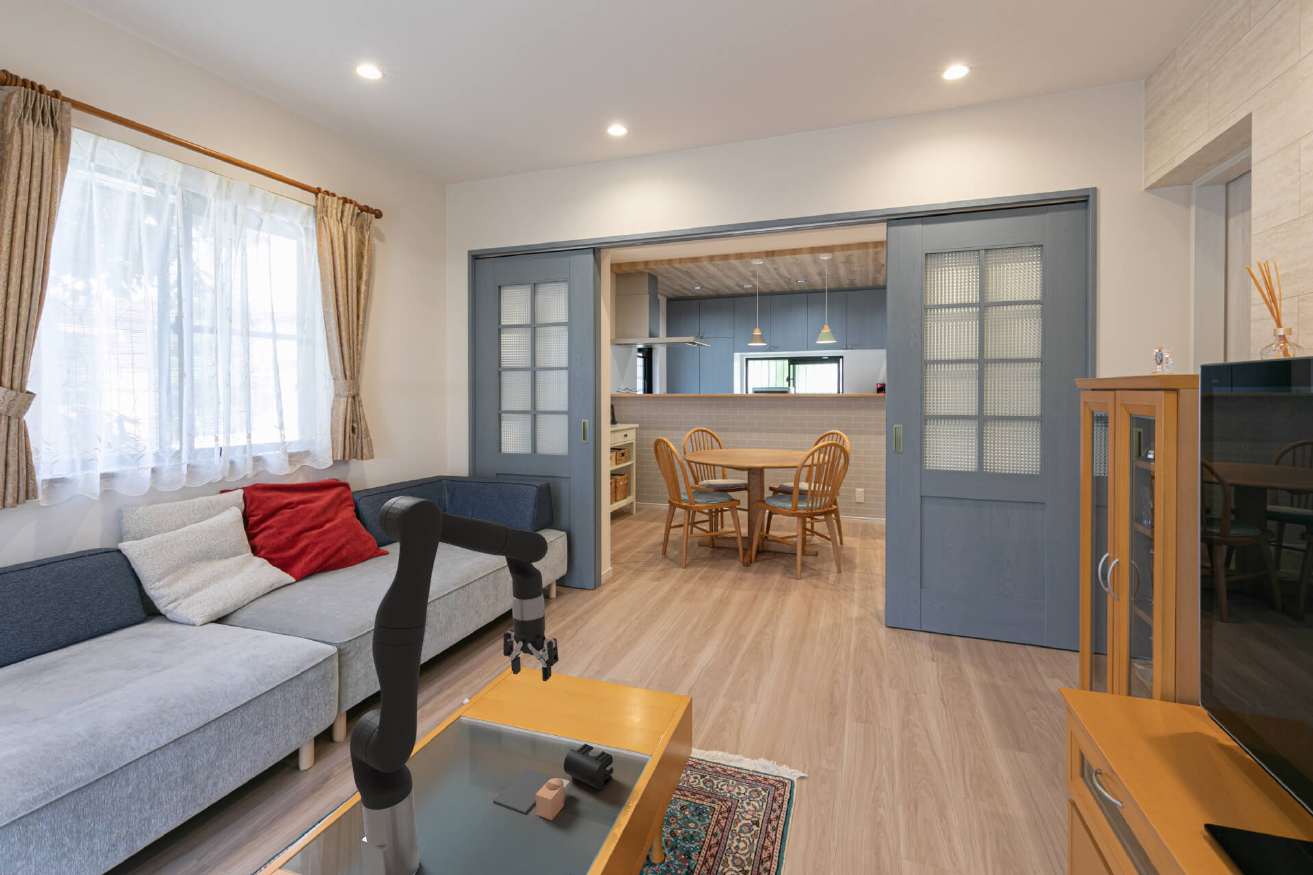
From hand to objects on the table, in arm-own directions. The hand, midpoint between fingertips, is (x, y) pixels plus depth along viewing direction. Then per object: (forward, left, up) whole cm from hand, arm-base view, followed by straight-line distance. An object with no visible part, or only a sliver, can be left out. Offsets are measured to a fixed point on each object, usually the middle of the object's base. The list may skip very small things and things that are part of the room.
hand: (531, 676), depth 150 cm
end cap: (+1, -15, -24) cm, 28 cm away
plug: (-9, -12, -24) cm, 28 cm away
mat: (-8, -3, -24) cm, 25 cm away
